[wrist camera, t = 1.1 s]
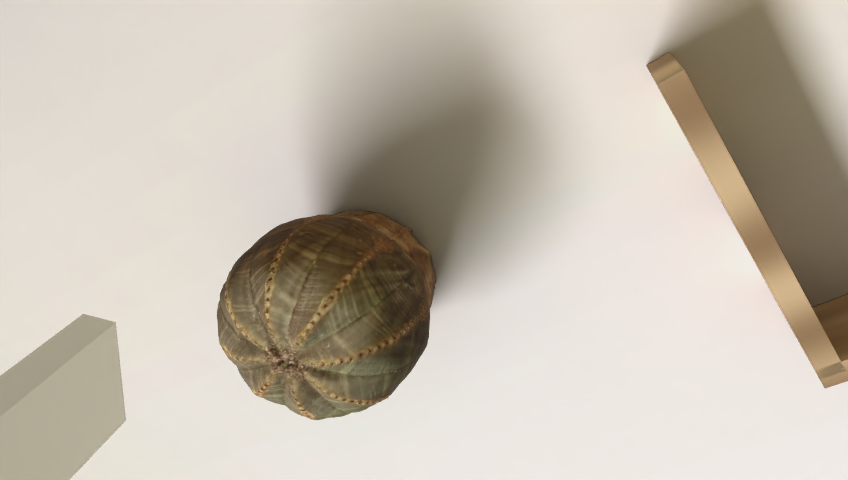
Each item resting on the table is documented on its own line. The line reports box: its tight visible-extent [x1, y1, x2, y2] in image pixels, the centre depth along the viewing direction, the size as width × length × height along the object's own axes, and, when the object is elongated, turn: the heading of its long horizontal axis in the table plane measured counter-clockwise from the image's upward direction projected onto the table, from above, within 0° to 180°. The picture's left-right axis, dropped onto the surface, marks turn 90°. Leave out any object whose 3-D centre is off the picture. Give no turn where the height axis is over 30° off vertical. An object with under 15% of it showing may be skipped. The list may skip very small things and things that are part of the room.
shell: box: [217, 211, 436, 420], centre depth 35 cm, size 11×11×12 cm
